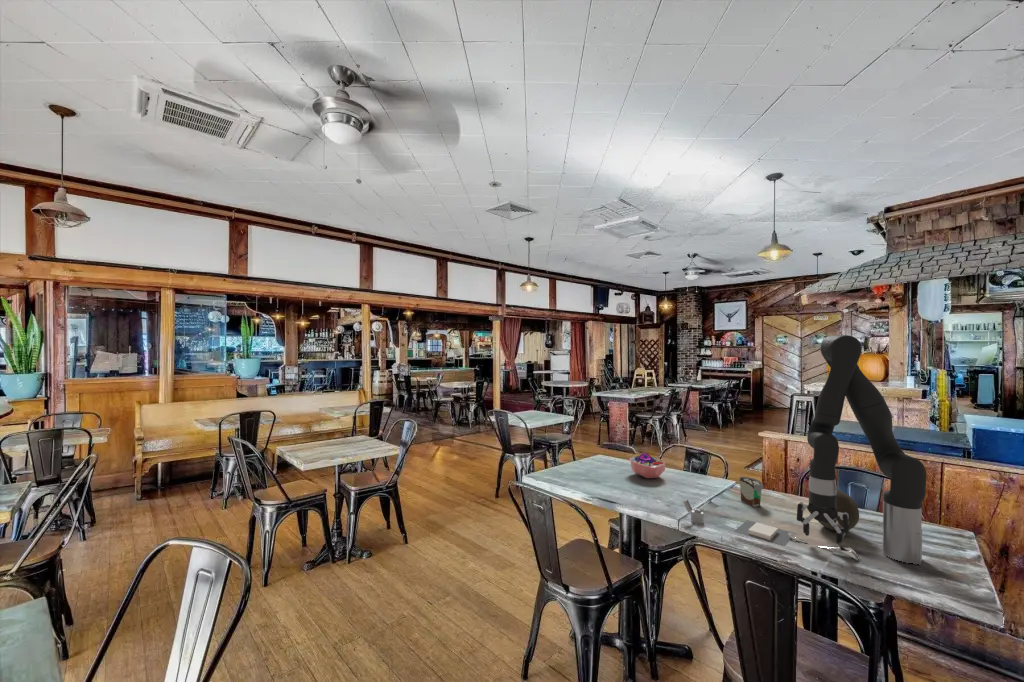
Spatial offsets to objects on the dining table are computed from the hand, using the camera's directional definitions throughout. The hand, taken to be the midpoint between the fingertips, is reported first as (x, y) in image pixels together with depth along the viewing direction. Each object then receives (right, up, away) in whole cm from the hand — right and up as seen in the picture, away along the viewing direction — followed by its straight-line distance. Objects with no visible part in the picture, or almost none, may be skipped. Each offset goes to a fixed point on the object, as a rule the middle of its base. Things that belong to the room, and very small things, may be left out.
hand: (822, 539), depth 145 cm
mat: (-13, -3, +12) cm, 17 cm away
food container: (-1, -4, +40) cm, 40 cm away
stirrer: (0, -4, 0) cm, 4 cm away
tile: (-10, -2, +14) cm, 17 cm away
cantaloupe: (+14, -4, +14) cm, 20 cm away
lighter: (-34, -3, +21) cm, 41 cm away
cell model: (-35, -3, +76) cm, 84 cm away
